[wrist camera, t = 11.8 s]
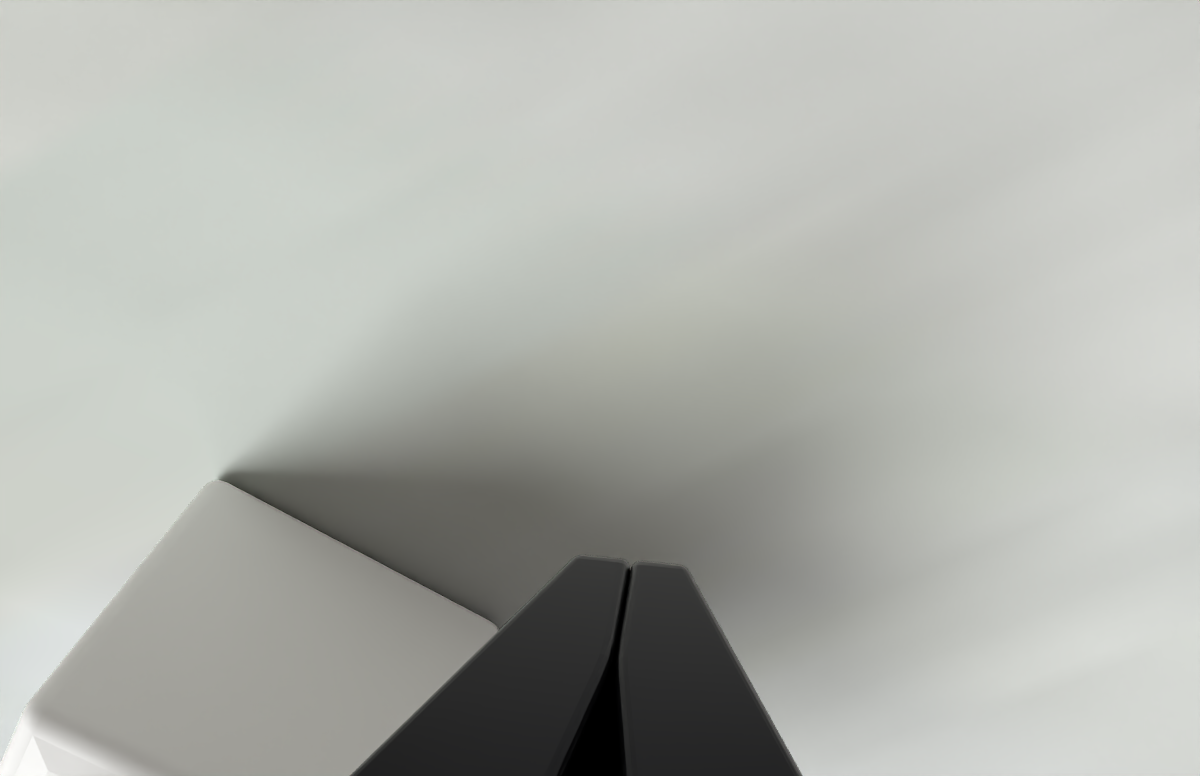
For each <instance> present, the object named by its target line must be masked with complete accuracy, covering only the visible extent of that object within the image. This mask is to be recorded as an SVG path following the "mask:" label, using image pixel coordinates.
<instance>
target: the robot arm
mask: <svg viewBox="0 0 1200 776" xmlns="http://www.w3.org/2000/svg"><path fill="white" fill-rule="evenodd" d="M350 776H802V774H801V772H800V770H799V768H798V767H797V765H796V763H795V761H794V759H793V758H792V756H791V754H790V752H789V750H788V749H787V747H786V745H785V743H784V741H783V739H782V738H781V736H780V734H779V732H778V730H777V729H776V727H775V725H774V723H773V721H772V720H771V718H770V716H769V714H768V712H767V711H766V709H765V707H764V705H763V703H762V702H761V700H760V698H759V696H758V694H757V692H756V691H755V689H754V687H753V685H752V683H751V682H750V680H749V678H748V676H747V674H746V673H745V671H744V669H743V667H742V665H741V664H740V662H739V660H738V658H737V656H736V655H735V653H734V651H733V649H732V647H731V645H730V644H729V642H728V640H727V638H726V636H725V635H724V633H723V631H722V629H721V627H720V626H719V624H718V622H717V620H716V618H715V617H714V615H713V613H712V611H711V609H710V608H709V606H708V604H707V602H706V600H705V598H704V597H703V595H702V593H701V591H700V589H699V588H698V586H697V584H696V582H695V580H694V579H693V577H692V575H691V573H690V572H689V570H688V569H687V568H686V567H684V566H683V565H679V564H669V563H659V562H649V561H638V562H636V563H634V564H633V566H632V567H631V570H630V566H629V564H628V562H627V561H626V560H624V559H620V558H610V557H600V556H591V555H578V556H576V557H574V558H573V559H572V560H571V561H570V562H569V563H567V564H566V565H565V566H564V567H563V568H562V569H561V570H560V571H559V572H558V573H557V574H556V575H555V576H554V577H553V578H552V579H551V580H550V581H549V582H548V583H547V584H546V585H545V586H544V587H543V588H542V589H541V590H540V591H539V592H538V593H537V594H536V595H535V596H534V597H533V598H532V599H531V600H529V601H528V602H527V603H526V604H525V605H524V606H523V607H522V608H521V609H520V610H519V611H518V612H517V613H516V614H515V615H514V616H513V617H512V618H511V619H510V620H509V621H508V622H507V623H506V624H505V625H504V626H503V627H502V628H501V629H500V630H499V631H498V632H497V633H496V634H495V635H494V636H493V637H492V638H490V639H489V640H488V641H487V642H486V643H485V644H484V645H483V646H482V647H481V648H480V649H479V650H478V651H477V652H476V653H475V654H474V655H473V656H472V657H471V658H470V659H469V660H468V661H467V662H466V663H465V664H464V665H463V666H462V667H461V668H460V669H459V670H458V671H457V672H456V673H455V674H454V675H452V676H451V677H450V678H449V679H448V680H447V681H446V682H445V683H444V684H443V685H442V686H441V687H440V688H439V689H438V690H437V691H436V692H435V693H434V694H433V695H432V696H431V697H430V698H429V699H428V700H427V701H426V702H425V703H424V704H423V705H422V706H421V707H420V708H419V709H418V710H417V711H416V712H414V713H413V714H412V715H411V716H410V717H409V718H408V719H407V720H406V721H405V722H404V723H403V724H402V725H401V726H400V727H399V728H398V729H397V730H396V731H395V732H394V733H393V734H392V735H391V736H390V737H389V738H388V739H387V740H386V741H385V742H384V743H383V744H382V745H381V746H380V747H379V748H378V749H376V750H375V751H374V752H373V753H372V754H371V755H370V756H369V757H368V758H367V759H366V760H365V761H364V762H363V763H362V764H361V765H360V766H359V767H358V768H357V769H356V770H355V771H354V772H353V773H352V774H351V775H350Z"/></svg>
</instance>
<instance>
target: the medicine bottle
mask: <svg viewBox="0 0 1200 776" xmlns="http://www.w3.org/2000/svg"><path fill="white" fill-rule="evenodd" d="M497 632H498V629H497V626H496V625H494V624H493V623H492V622H491V621H489V620H487V619H485V618H483V617H481V616H479V615H478V614H476V613H474V612H472V611H470V610H468V609H466V608H464V607H462V606H460V605H459V604H457V603H455V602H453V601H451V600H449V599H447V598H445V597H443V596H441V595H440V594H438V593H436V592H434V591H432V590H430V589H428V588H426V587H424V586H422V585H421V584H419V583H417V582H415V581H413V580H411V579H409V578H407V577H405V576H404V575H402V574H400V573H398V572H396V571H394V570H392V569H390V568H388V567H386V566H385V565H383V564H381V563H379V562H377V561H375V560H373V559H371V558H369V557H367V556H366V555H364V554H362V553H360V552H358V551H356V550H354V549H352V548H350V547H348V546H347V545H345V544H343V543H341V542H339V541H337V540H335V539H333V538H331V537H330V536H328V535H326V534H324V533H322V532H320V531H318V530H316V529H314V528H312V527H311V526H309V525H307V524H305V523H303V522H301V521H299V520H297V519H295V518H293V517H292V516H290V515H288V514H286V513H284V512H282V511H280V510H278V509H276V508H274V507H273V506H271V505H269V504H267V503H265V502H263V501H261V500H259V499H257V498H256V497H254V496H252V495H250V494H248V493H246V492H244V491H242V490H240V489H238V488H237V487H235V486H233V485H231V484H229V483H227V482H224V481H221V480H215V481H211V482H209V483H207V484H206V485H205V486H204V487H203V488H202V489H201V490H200V491H199V492H198V494H197V495H196V496H195V497H194V499H193V500H192V501H191V502H190V504H189V505H188V506H187V507H186V508H185V510H184V511H183V512H182V513H181V515H180V516H179V517H178V518H177V520H176V521H175V522H174V523H173V524H172V526H171V527H170V528H169V529H168V531H167V532H166V533H165V534H164V536H163V537H162V538H161V539H160V541H159V542H158V543H157V544H156V545H155V547H154V548H153V549H152V550H151V552H150V553H149V554H148V555H147V557H146V558H145V559H144V560H143V561H142V563H141V564H140V565H139V566H138V568H137V569H136V570H135V571H134V573H133V574H132V575H131V576H130V577H129V579H128V580H127V581H126V582H125V584H124V585H123V586H122V587H121V589H120V590H119V591H118V592H117V593H116V595H115V596H114V597H113V598H112V600H111V601H110V602H109V603H108V605H107V606H106V607H105V608H104V609H103V611H102V612H101V613H100V614H99V616H98V617H97V618H96V619H95V621H94V622H93V623H92V624H91V625H90V627H89V628H88V629H87V630H86V632H85V633H84V634H83V635H82V637H81V638H80V639H79V640H78V642H77V643H76V644H75V645H74V646H73V648H72V649H71V650H70V651H69V653H68V654H67V655H66V656H65V658H64V659H63V660H62V661H61V662H60V664H59V665H58V666H57V667H56V669H55V670H54V671H53V672H52V674H51V675H50V676H49V677H48V678H47V680H46V681H45V682H44V683H43V685H42V686H41V687H40V688H39V690H38V691H37V692H36V693H35V694H34V696H33V697H32V698H31V699H30V701H29V702H28V703H27V704H26V706H25V707H24V709H23V712H22V714H21V716H20V719H19V721H18V723H17V726H16V728H15V730H14V733H13V735H12V737H11V740H10V742H9V744H8V747H7V749H6V751H5V754H4V756H3V758H2V761H1V763H0V776H350V775H351V774H352V773H353V772H354V771H355V770H356V769H357V768H358V767H359V766H360V765H361V764H362V763H363V762H364V761H365V760H366V759H367V758H368V757H369V756H370V755H371V754H372V753H373V752H374V751H375V750H376V749H378V748H379V747H380V746H381V745H382V744H383V743H384V742H385V741H386V740H387V739H388V738H389V737H390V736H391V735H392V734H393V733H394V732H395V731H396V730H397V729H398V728H399V727H400V726H401V725H402V724H403V723H404V722H405V721H406V720H407V719H408V718H409V717H410V716H411V715H412V714H413V713H414V712H416V711H417V710H418V709H419V708H420V707H421V706H422V705H423V704H424V703H425V702H426V701H427V700H428V699H429V698H430V697H431V696H432V695H433V694H434V693H435V692H436V691H437V690H438V689H439V688H440V687H441V686H442V685H443V684H444V683H445V682H446V681H447V680H448V679H449V678H450V677H451V676H452V675H454V674H455V673H456V672H457V671H458V670H459V669H460V668H461V667H462V666H463V665H464V664H465V663H466V662H467V661H468V660H469V659H470V658H471V657H472V656H473V655H474V654H475V653H476V652H477V651H478V650H479V649H480V648H481V647H482V646H483V645H484V644H485V643H486V642H487V641H488V640H489V639H490V638H492V637H493V636H494V635H495V634H496V633H497Z"/></svg>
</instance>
